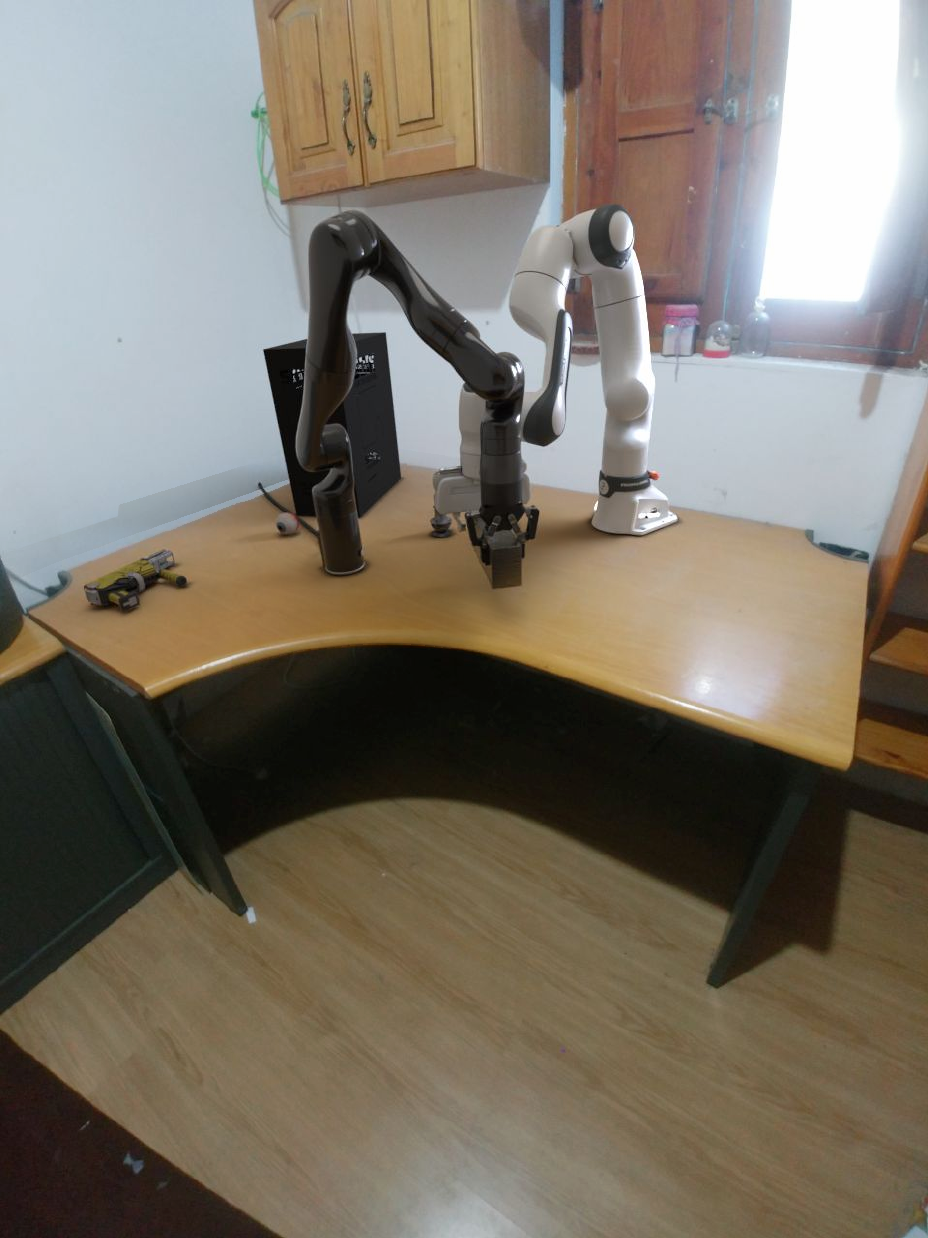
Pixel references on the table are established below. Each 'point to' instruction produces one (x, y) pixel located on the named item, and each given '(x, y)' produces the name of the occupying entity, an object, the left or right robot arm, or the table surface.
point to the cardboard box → (341, 420)
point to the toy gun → (132, 581)
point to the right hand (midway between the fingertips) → (483, 527)
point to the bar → (501, 558)
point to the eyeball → (287, 523)
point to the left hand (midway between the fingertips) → (502, 561)
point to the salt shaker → (441, 524)
